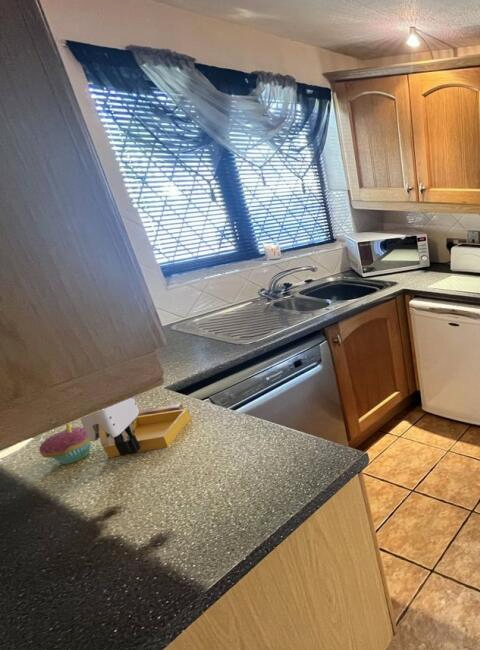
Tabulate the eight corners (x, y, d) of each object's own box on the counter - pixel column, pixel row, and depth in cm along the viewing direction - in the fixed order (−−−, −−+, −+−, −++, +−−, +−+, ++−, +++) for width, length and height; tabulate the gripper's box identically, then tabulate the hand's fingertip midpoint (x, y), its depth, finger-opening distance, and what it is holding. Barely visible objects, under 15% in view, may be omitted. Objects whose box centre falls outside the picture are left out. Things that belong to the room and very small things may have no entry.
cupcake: (102, 440, 97) (83, 400, 93) (98, 458, 91) (76, 416, 86) (52, 456, 92) (29, 414, 87) (44, 476, 86) (18, 433, 81)
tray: (108, 457, 91) (103, 446, 90) (138, 426, 102) (134, 416, 101) (168, 446, 94) (163, 436, 93) (191, 417, 105) (187, 408, 104)
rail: (119, 426, 102) (114, 417, 101) (123, 422, 104) (119, 413, 103) (181, 416, 106) (178, 407, 105) (184, 412, 108) (181, 403, 106)
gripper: (99, 372, 89) (130, 436, 96) (50, 408, 76) (89, 479, 83) (139, 366, 92) (166, 429, 98) (97, 401, 78) (132, 470, 85)
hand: (131, 452), depth 90 cm, fingers closed
